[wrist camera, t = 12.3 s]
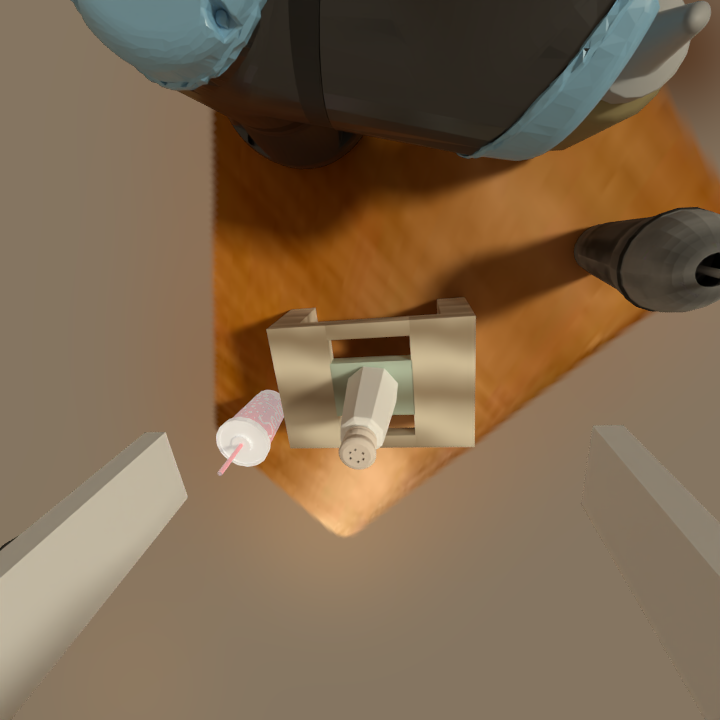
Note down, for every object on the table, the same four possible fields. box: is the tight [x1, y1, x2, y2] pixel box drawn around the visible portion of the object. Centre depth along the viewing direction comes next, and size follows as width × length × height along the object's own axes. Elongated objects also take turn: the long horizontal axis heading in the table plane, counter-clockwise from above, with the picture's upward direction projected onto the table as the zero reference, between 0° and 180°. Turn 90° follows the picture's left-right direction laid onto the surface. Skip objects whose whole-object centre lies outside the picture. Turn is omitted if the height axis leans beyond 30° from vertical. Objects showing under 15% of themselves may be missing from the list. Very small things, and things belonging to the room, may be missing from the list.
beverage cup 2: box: [574, 207, 720, 312], centre depth 27 cm, size 7×7×20 cm
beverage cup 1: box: [216, 390, 284, 476], centre depth 42 cm, size 6×6×14 cm
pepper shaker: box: [339, 366, 398, 469], centre depth 32 cm, size 5×5×11 cm
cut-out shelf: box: [266, 297, 476, 448], centre depth 41 cm, size 14×20×8 cm
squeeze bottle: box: [549, 0, 711, 151], centre depth 25 cm, size 8×8×18 cm
